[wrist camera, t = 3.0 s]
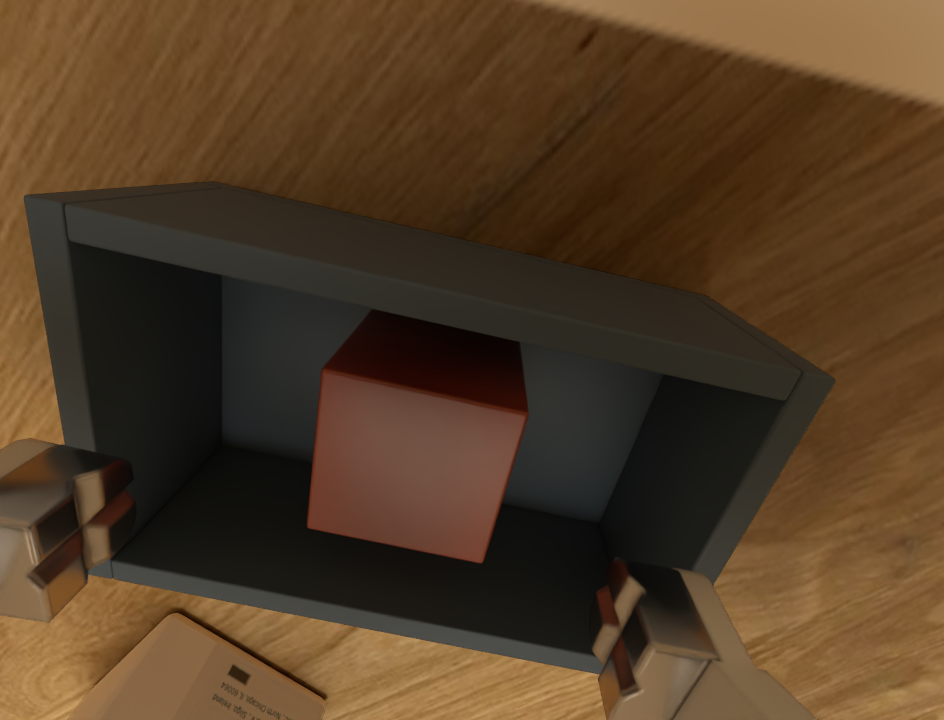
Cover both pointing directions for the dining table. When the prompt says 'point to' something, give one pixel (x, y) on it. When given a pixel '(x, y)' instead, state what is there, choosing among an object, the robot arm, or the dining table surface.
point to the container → (195, 682)
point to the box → (297, 392)
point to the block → (417, 435)
